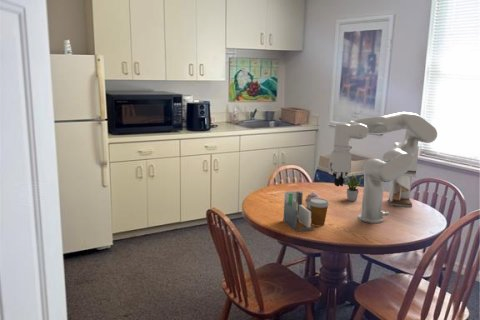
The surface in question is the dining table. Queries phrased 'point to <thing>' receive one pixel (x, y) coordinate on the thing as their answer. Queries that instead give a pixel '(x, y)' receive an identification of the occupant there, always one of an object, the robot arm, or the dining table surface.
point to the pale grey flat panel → (304, 214)
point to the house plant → (352, 188)
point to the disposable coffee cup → (318, 211)
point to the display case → (403, 185)
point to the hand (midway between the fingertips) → (338, 185)
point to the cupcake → (311, 196)
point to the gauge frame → (292, 210)
